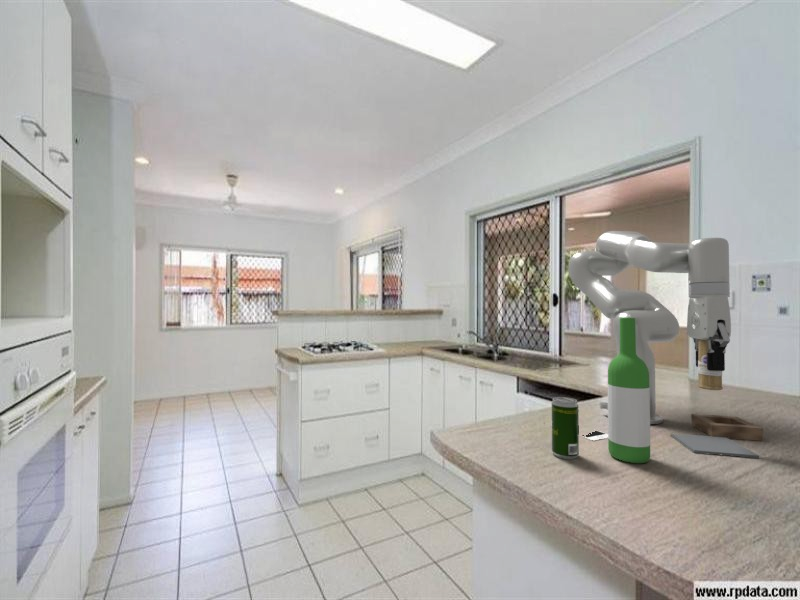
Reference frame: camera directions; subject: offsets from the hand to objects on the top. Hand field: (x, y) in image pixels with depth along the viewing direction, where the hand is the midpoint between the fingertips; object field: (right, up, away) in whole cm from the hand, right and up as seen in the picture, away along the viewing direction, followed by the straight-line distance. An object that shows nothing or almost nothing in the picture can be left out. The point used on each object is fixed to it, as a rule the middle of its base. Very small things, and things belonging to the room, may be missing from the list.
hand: (709, 368), depth 89 cm
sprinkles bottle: (0, -5, 0) cm, 5 cm away
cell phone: (-26, -19, +11) cm, 34 cm away
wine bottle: (-24, -18, -8) cm, 31 cm away
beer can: (-37, -18, -6) cm, 41 cm away
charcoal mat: (0, -18, -1) cm, 18 cm away
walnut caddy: (+12, -18, +10) cm, 24 cm away
